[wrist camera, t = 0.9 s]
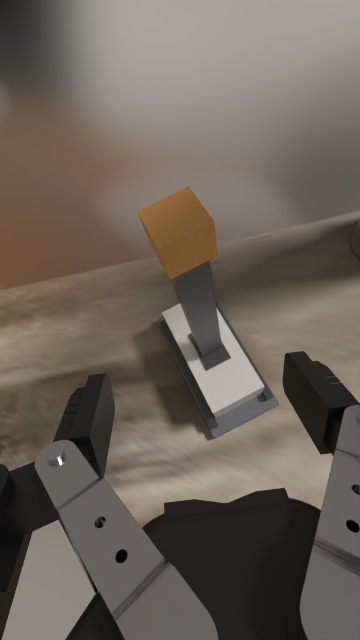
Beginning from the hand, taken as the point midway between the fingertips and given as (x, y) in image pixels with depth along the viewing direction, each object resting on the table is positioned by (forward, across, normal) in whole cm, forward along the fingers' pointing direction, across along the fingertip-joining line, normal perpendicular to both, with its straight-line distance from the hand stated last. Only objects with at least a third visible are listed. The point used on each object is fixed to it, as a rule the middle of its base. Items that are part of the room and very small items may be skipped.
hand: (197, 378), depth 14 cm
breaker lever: (+20, -3, +11) cm, 23 cm away
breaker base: (+23, -4, +15) cm, 28 cm away
